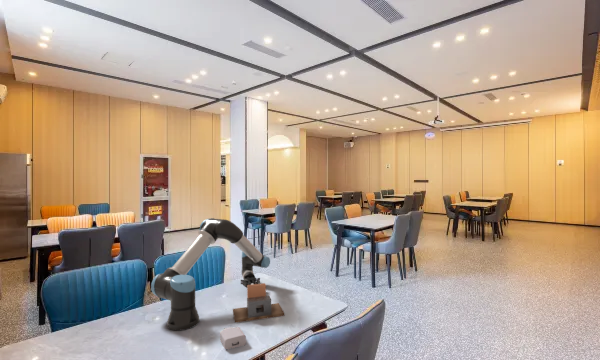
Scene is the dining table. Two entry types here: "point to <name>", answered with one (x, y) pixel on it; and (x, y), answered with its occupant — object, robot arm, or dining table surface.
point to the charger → (232, 337)
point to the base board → (242, 316)
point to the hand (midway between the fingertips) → (253, 289)
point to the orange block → (256, 291)
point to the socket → (257, 312)
